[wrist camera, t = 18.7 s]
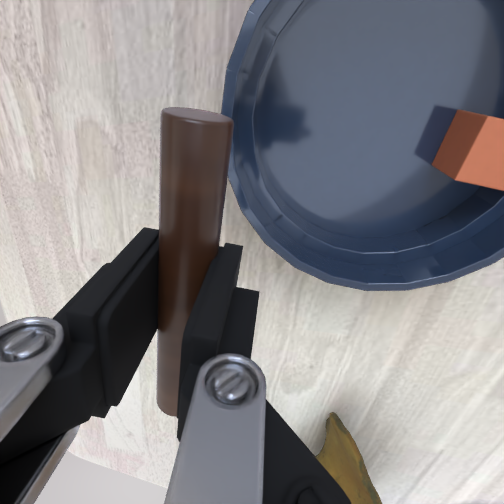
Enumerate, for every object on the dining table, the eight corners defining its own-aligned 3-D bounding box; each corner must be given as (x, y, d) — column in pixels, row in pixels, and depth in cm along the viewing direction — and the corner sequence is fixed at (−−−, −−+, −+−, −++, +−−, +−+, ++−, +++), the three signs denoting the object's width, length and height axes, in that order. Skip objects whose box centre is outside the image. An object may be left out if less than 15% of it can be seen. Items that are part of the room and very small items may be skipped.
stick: (181, 105, 8) (145, 109, 6) (243, 118, 8) (219, 125, 6) (169, 373, 13) (148, 408, 11) (206, 387, 13) (188, 423, 11)
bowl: (219, 223, 26) (203, 257, 21) (267, -118, 16) (258, -200, 11) (453, 271, 26) (490, 317, 21) (639, -40, 16) (788, -88, 11)
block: (430, 165, 21) (454, 180, 18) (456, 108, 20) (488, 115, 16) (481, 176, 21) (513, 193, 18) (512, 121, 20) (553, 130, 16)
